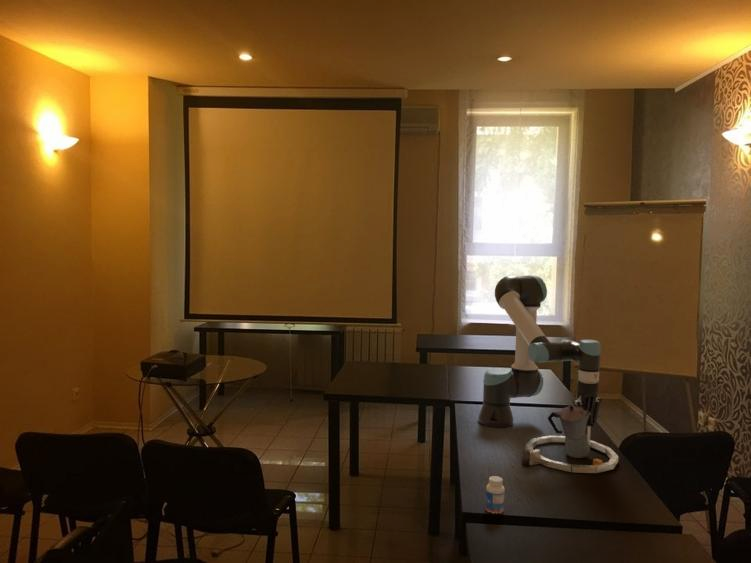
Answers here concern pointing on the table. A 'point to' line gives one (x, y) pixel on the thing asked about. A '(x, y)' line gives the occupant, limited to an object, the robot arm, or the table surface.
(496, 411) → the robot arm
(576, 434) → the moka pot
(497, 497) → the pill bottle
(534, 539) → the table surface
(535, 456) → the indicator ring
